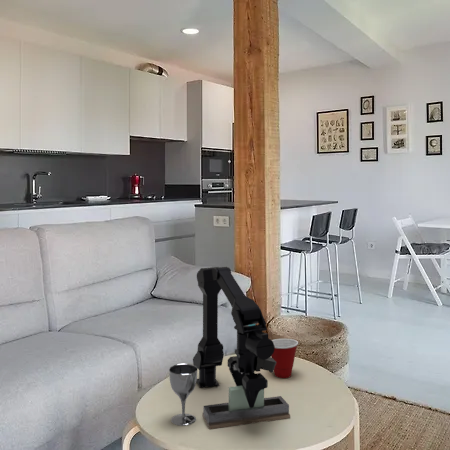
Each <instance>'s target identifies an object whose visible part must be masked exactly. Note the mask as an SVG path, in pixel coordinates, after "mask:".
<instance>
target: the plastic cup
mask: <svg viewBox="0 0 450 450" xmlns="http://www.w3.org/2000/svg"><path fill="white" fill-rule="evenodd" d="M271 340H272V341H273V343H274V346H275V349H274V353H273V354H272V356H271V358H273V359H274V360H275V361H276V365H275V368H274V371H273V373H274V376H275V378H279V379H288V378H291V376H292V374H293V373H292V372H293V367H294V364H295V356H296V352H297V348H298V345H299V341H298V340H296V339H293V338H292V339H291V338H276V339H271Z"/></svg>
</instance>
